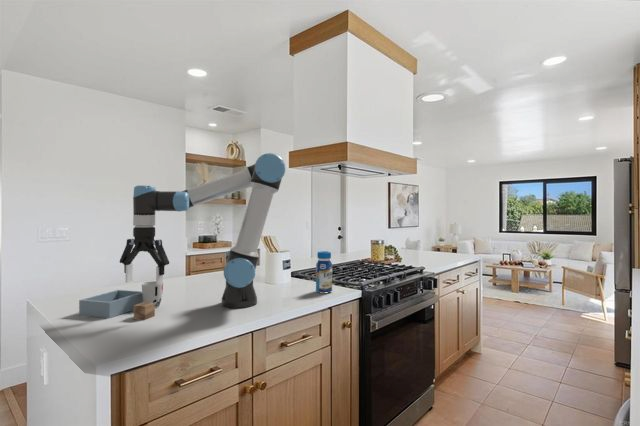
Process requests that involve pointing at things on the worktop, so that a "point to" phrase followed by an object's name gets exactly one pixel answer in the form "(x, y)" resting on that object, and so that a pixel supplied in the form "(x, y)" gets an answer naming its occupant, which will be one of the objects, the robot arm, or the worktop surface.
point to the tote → (110, 303)
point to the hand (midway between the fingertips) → (144, 282)
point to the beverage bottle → (324, 272)
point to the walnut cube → (144, 310)
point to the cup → (152, 292)
